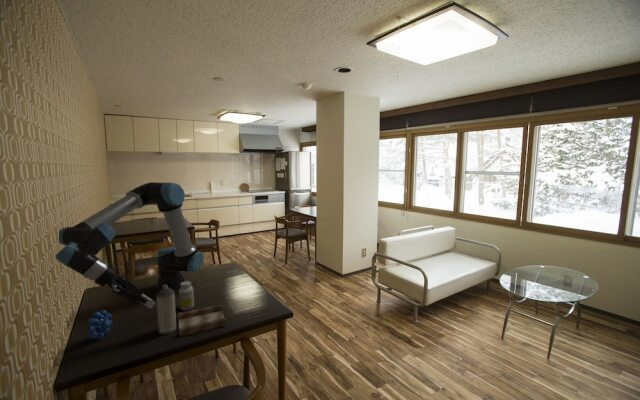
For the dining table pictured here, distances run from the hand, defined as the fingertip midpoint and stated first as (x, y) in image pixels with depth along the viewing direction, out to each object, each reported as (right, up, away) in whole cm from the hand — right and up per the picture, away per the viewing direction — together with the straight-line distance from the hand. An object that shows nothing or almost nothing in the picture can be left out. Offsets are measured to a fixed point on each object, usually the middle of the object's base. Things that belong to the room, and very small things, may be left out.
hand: (153, 305), depth 121 cm
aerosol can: (+4, -12, +4) cm, 14 cm away
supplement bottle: (+3, -10, +24) cm, 26 cm away
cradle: (+16, -11, +10) cm, 22 cm away
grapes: (-19, -13, -2) cm, 23 cm away
